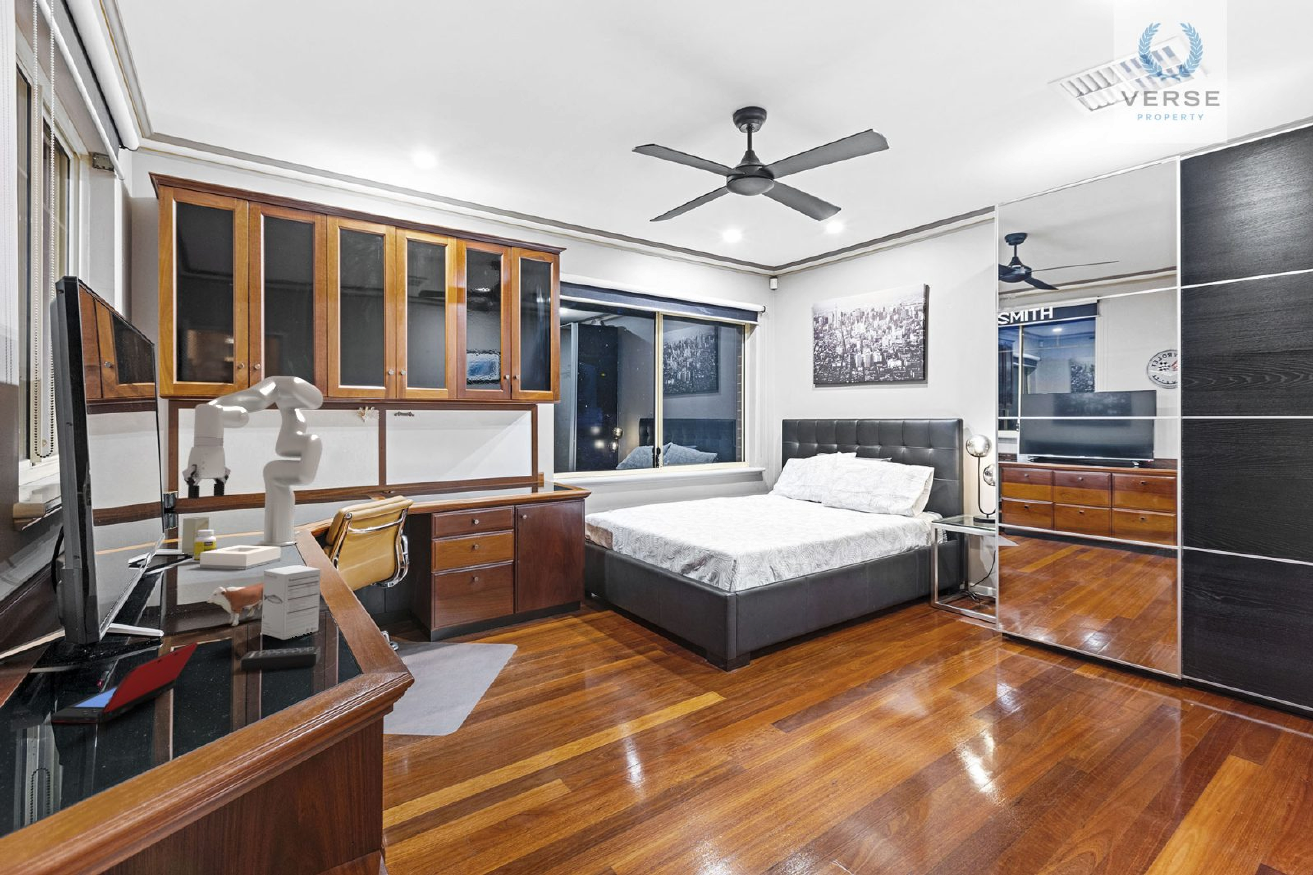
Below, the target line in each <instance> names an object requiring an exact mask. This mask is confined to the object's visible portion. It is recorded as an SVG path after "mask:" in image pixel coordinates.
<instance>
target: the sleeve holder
mask: <svg viewBox="0 0 1313 875" xmlns="http://www.w3.org/2000/svg"><path fill="white" fill-rule="evenodd" d="M281 549H282V546H260V545H243V544H242V545H240V544H238V545H233V546H226V547H223V548H218V549H216V550H211V551H206V552H201V553H200V563H199V568H200V569H223V570H224V569H226V570H239V569H238V568H250V569H252V568H251V567H254V566H257V565H259V564H263V563H270V562H274V563H276V562H275V561H278V562H280V561H281V559H282V558H281V556H282V553H281V552H282V550H281ZM279 560H280V561H279ZM270 564H271V563H270ZM254 568H255V567H254Z"/></svg>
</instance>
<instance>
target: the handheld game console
mask: <svg viewBox="0 0 1313 875" xmlns="http://www.w3.org/2000/svg"><path fill="white" fill-rule="evenodd" d="M197 647H198V642H197V641H191V642H190V643H188V644H185V645H183V646H181V647H178V648H176V649H174V650H171V651H169V652H167V653H164V654H162V655H160V656H157V657H155V658H153V659H150V660H148V661H145V662H143V663H140V664H138V665H136V666H134V667H132V668H131V669H129V670H128V671H127V672H126V673H125V675H124V676H123V677H122V678H121V680H120V682H119V683H118V684H117V685H112V687H109V688H106V689H104V690H101V691H100V692H98V693H96V694H93V695H92V696H89V697H87V698H84V699H82V700H79V701H77V702H75V703H73V704H71V705H68V706H67V707H65V708H62V709H60V710H58V711H56V712H54V713H52V714H51V715H50V721H51V722H53V723H69V724H71V723H73V724H78V723H79V724H81V723H84V724H91V723H92V724H103V723H106V722H109V721H111V720H113V719H114V718H116V717H119V716H120V715H123V714H124V713H126V712H128V711H130V710H132V709H134V708H135V706H137V705H139V704H142V703H145V702H147V701H149V700H152V699H154V698H157V697H159V696H160V695H162V694H164V693H167V692H169V691H171V690H172V689H175V688H176V687H177V678H178V677H179V675H180V673H181V671H183V669H184V667H185V665H186V664H187V662H188V661H189V659H190V658H191V657H192V655H193V653H194V652H195V650H196V648H197Z"/></svg>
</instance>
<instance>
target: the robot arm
mask: <svg viewBox="0 0 1313 875" xmlns="http://www.w3.org/2000/svg"><path fill="white" fill-rule="evenodd" d="M323 403H324V396H323V393H322V391H321V390H320V389H319V388H317V387H316V386H314V385H313V384H311V383H309V381H307V380H304V379H302V378H300V377H298V376H289V375H288V376H287V375H283V376H282V375H272V376H269V377H265V378H264V379H262V380H260V381H259V382H257V383H255V384H254V385H251V387H249V388H247V389H243V390H239V391H236V392H232V393H229V394H226V395H221V396H219V397H216V398H214V399H212V400H211V401H209V402H206V403H199V404H197V405H196V406H195V407H194V428H193V431H194V432H193V447H191V448H190V452H189V456H188V461H187V468H185V469H184V470H182V472H181V475H182V476H183V480H184V481H185V482H186V483H185V484H186V486H188V488H187V498H188V499H194V500H195V499H197V500H198V499H199V498H200V489H201V488H200V485H199V484H200V483H201V481H202V480H213V481H214V482H215V483H214V484H213V497H224V496H225V485H226V484H227V482H228V479H229V476H230V474H231V469H229V467H227V466H226V455H225V454H226V453H225V448H224V442H225V441H224V437H225V436H224V434H225V433H224V432H225V429H241V428H243V427H245V426H246V425H248V423H249V422H250V414H251V413H256V412H257V413H258V412H260V411H263V410H266V409H267V408H268V407H270V406H271V405H273V404H276V406H277V409H278V410H279V413H280V416H281V425H280V429H279V432H278V437H277V440H276V443H275V449H274V450H275V454H276V455H277V456H279V457H281V458H284V459H274V460H270V461H269V462H267V463H265V465H264V467H263V468H262V475H263V476H262V477H263V482H264V488H265V489H264V491H265V492H264V493H265V494H264V495H265V496H264V498H265V499H264V518H263V519H264V520H263V521H264V522H263V523H264V524H263V540H260V541H259V542H258V544H257V546H273V547H284V546H292V545H296V544H295V542H296V540H297V541H298V542H299V540H298V539H295V538H296V537H300V536H301V535H302V534H301V531H300V530H297V531H295V530H294V529H295V508H296V495H295V492H294V490H293V489H292V487H291V486H295V487H296V486H302V487H303V486H309V485H311V484H312V483H313V482H314V480H315V478H316V475H317V472H318V468H319V464H320V461H321V459H322V458H321V456H322V452H323V443H322V439H321V438H320V437H319V436H318V435H317V434H314V433H307V428H308V422H307V418H306V417H305V415H304V414H303V413H302V411H301V410H305V411H306V410H310V411H312V410H313V411H314V410H317V409H319V408H320V407H322V405H323ZM293 459H296V460H293ZM299 459H300V460H299Z"/></svg>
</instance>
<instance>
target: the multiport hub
mask: <svg viewBox="0 0 1313 875" xmlns="http://www.w3.org/2000/svg"><path fill="white" fill-rule="evenodd" d="M321 648H322V647H321V646H318V645H317V646H305V647H291V648H289V647H287V648H278V649H277V648H276V649H275V648H274V649H263V650H250V651H248V652H246V654H245V655H244V656H242V658H241V659H240V672H251V671H263V670H273V669H274V670H276V669H285V668H286V669H287V668H299V667H300V668H301V667H310V666H311V667H312V666H316V665H317V664H318V662H319V660H320V659H321Z"/></svg>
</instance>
